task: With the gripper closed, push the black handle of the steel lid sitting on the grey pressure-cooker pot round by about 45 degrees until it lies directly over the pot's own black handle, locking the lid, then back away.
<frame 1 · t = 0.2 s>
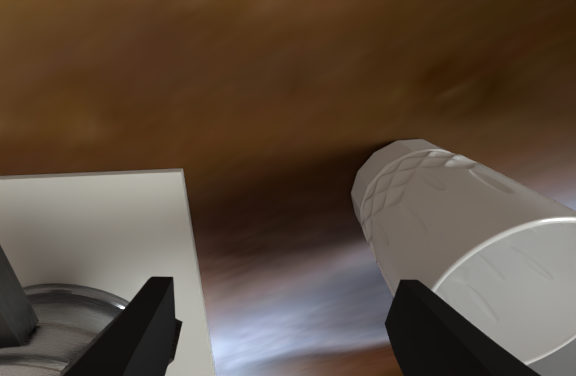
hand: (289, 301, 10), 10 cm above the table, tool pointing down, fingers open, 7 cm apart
white cup: (399, 186, 21), on the table
pot: (74, 348, 23), resting on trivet
small box: (502, 269, 25), on the table
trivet: (78, 306, 22), on the table
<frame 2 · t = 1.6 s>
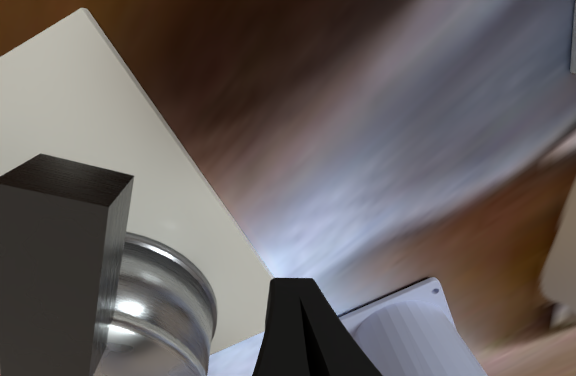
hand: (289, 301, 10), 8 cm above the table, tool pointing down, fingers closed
pot: (114, 313, 19), resting on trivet
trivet: (90, 262, 18), on the table
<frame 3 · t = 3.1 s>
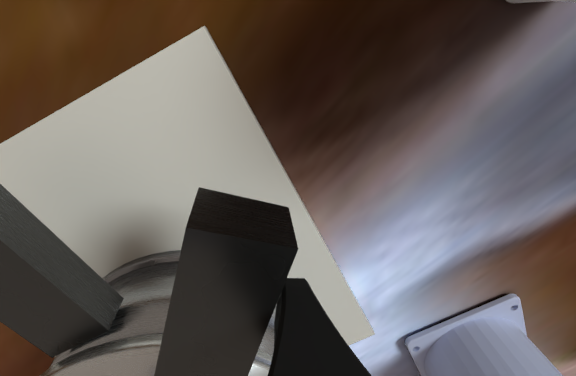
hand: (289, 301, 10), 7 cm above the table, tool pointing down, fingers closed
pot: (193, 334, 19), resting on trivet
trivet: (174, 283, 17), on the table
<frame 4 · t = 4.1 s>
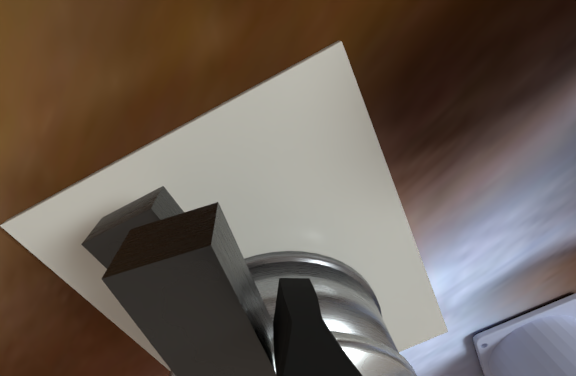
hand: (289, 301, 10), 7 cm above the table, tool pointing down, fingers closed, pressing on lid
pot: (281, 331, 19), resting on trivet
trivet: (268, 283, 18), on the table
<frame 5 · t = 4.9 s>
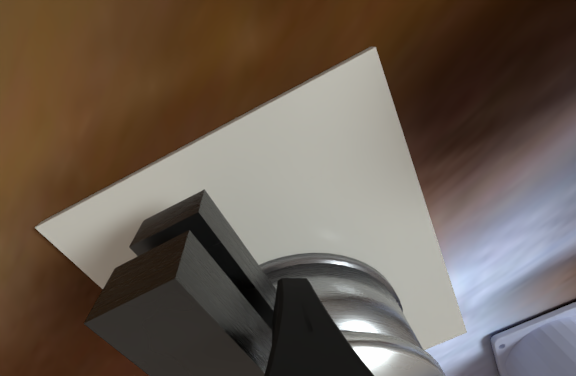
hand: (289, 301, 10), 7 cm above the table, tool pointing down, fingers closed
pot: (303, 332, 20), resting on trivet
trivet: (292, 284, 18), on the table
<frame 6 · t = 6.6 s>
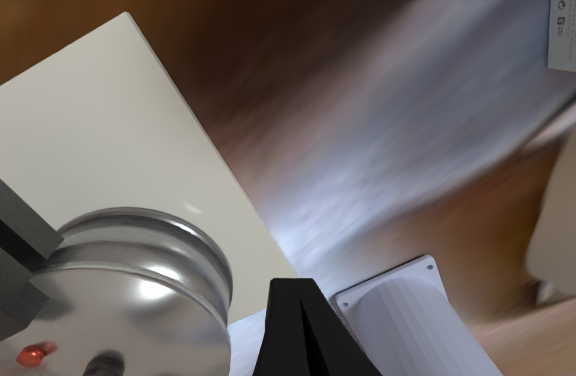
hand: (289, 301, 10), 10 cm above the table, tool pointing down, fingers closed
pot: (140, 285, 21), resting on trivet
lid: (72, 354, 15), point 7 cm above the table, hinge at 0.8°
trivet: (121, 238, 20), on the table
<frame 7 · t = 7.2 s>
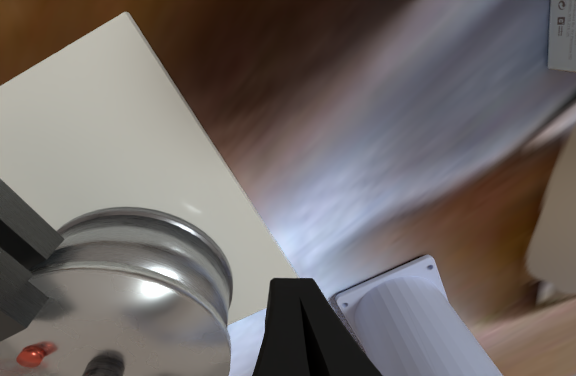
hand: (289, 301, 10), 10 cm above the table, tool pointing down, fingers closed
pot: (140, 285, 21), resting on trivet
lid: (72, 354, 15), point 7 cm above the table, hinge at 0.8°
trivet: (121, 238, 20), on the table
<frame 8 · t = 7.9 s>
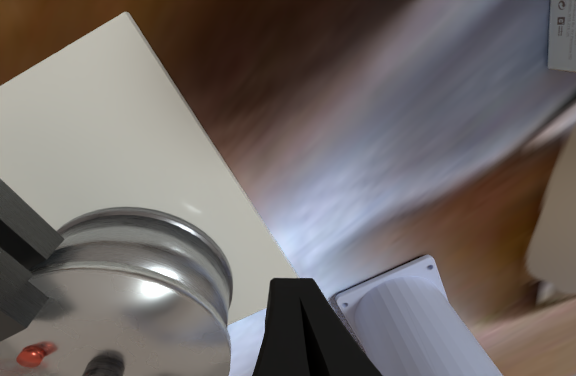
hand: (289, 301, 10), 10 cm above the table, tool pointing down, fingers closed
pot: (140, 285, 21), resting on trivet
lid: (72, 354, 15), point 7 cm above the table, hinge at 0.8°
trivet: (121, 238, 20), on the table
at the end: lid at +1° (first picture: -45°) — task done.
